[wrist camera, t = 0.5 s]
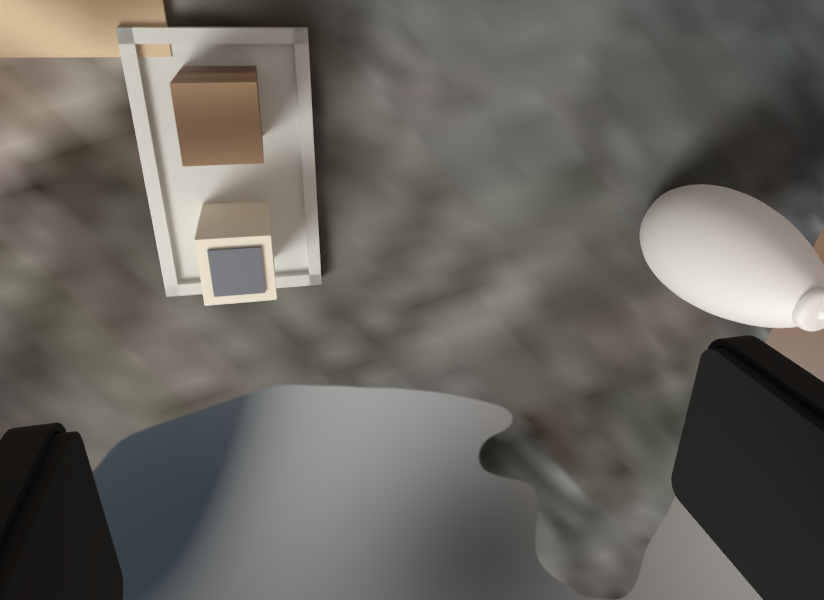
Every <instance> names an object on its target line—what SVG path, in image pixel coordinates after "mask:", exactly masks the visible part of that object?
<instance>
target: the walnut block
mask: <svg viewBox="0 0 824 600" xmlns="http://www.w3.org/2000/svg"><path fill="white" fill-rule="evenodd" d="M170 89H171V96H172V102H173V108H174V115H175V121H176V127H177V134H178V140H179V146H180V153H181V159H182V165H183V166H208V165H234V164H260V163H264V154H263V134H262V123H261V113H260V102H259V91H258V80H257V69H256V66H182V68H181V69H180V70H179V71H178V73H177V74H176V75H175V77H174V78H173V79H172V81H171V82H170Z"/></svg>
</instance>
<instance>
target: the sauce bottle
mask: <svg viewBox="0 0 824 600" xmlns="http://www.w3.org/2000/svg"><path fill="white" fill-rule="evenodd" d="M640 244H641V248H642V252H643V255H644V258H645V260H646V262H647V264H648V265H649V267H650V268H651V270H652V271H653V273H654V274H655V275H656V277H657V278H658V279H659V280H660V281H661V282H662V283H663V284H664V285H666V286H667V287H668V288H669V289H670V290H671V291H672V292H674V293H675V294H676V295H678V296H679V297H680V298H682V299H683V300H685V301H687V302H689V303H690V304H692V305H694V306H696V307H698V308H700V309H702V310H704V311H706V312H708V313H711V314H713V315H716V316H719V317H722V318H725V319H728V320H732V321H735V322H739V323H743V324H748V325H753V326H760V327H769V328H792V327H799V328H801V329H803V330H806V331H817V330H821V329H823V328H824V265H823V264H822V262H821V260H820V258H819V256H818V255H817V253H816V252H815V250H814V249H813V247H812V246H811V245H810V243H809V242H808V241H807V240H806V239H805V238H804V236H803V235H802V234H801V233H800V232H799V231H798V229H797V228H796V227H795V226H794V225H793V224H792V223H790V222H789V221H788V220H787V219H786V218H785V217H783V216H782V215H781V214H779V213H778V212H777V211H775V210H774V209H772V208H771V207H769V206H768V205H766V204H765V203H763V202H761V201H759V200H758V199H756V198H754V197H752V196H749V195H747V194H744V193H742V192H739V191H736V190H733V189H730V188H727V187H722V186H715V185H707V184H697V185H687V186H682V187H678V188H675V189H672V190H669V191H668V192H666V193H664V194H662V195H661V196H660V197H659V198H657V199H656V200H655V202H654V203H653V204H652V205H651V206H650V208H649V209H648V211H647V212H646V214H645V216H644V218H643V221H642V223H641V227H640Z"/></svg>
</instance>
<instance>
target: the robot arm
mask: <svg viewBox="0 0 824 600" xmlns="http://www.w3.org/2000/svg"><path fill="white" fill-rule="evenodd" d="M671 481H672V487H673V491H674V493H675V495H676V497H677V498H678V500H679V501H680V502H681V503H682V505H683V506H684V507H685V508H686V509H687V510H688V512H689V513H690V514H691V515H692V516H693V518H694V519H695V520H696V521H697V522H698V523H699V525H700V526H701V527H702V528H703V529H704V530H705V532H706V533H707V534H708V535H709V536H710V538H711V539H712V540H713V541H714V542H715V543H716V545H717V546H718V547H719V548H720V549H721V550H722V552H723V553H724V554H725V555H726V556H727V558H729V560H730V561H731V562H732V563H733V565H734V566H735V567H736V568H737V569H738V570H739V571H740V573H741V574H742V575H743V576H744V577H745V579H746V580H747V581H748V582H749V583H750V585H751V586H752V587H753V588H754V589H755V590H756V592H757V593H758V594H759V595H760V596H761V597H762V599H763V600H824V382H823V381H821V380H820V379H818V378H816V377H815V376H814V375H812V374H811V373H809V372H808V371H806V370H805V369H803V368H801V367H800V366H799V365H797V364H796V363H794V362H792V361H791V360H790V359H788V358H787V357H785V356H784V355H782V354H781V353H779V352H778V351H776V350H775V349H773V348H772V347H770V346H768V345H767V344H766V343H764V342H763V341H761V340H760V339H758V338H756V337H754V336H739V337H731V338H723V339H717V340H715V341H713V342H712V343H711V344H710V345H709V347H708V350H706V351H704V353H703V354H702V356H701V358H700V362H699V366H698V370H697V374H696V378H695V382H694V386H693V390H692V395H691V399H690V403H689V407H688V411H687V415H686V419H685V423H684V427H683V431H682V436H681V440H680V444H679V448H678V452H677V456H676V460H675V464H674V468H673V472H672V478H671ZM122 598H123V577H122V572H121V568H120V565H119V562H118V559H117V555H116V551H115V548H114V545H113V542H112V538H111V535H110V531H109V528H108V524H107V521H106V518H105V514H104V511H103V508H102V504H101V501H100V498H99V494H98V491H97V487H96V484H95V480H94V477H93V474H92V470H91V467H90V464H89V460H88V457H87V453H86V450H85V447H84V443H83V440H82V438H81V435H80V434H79V433H78V432H76V431H75V432H66V430H65V428H64V427H63V425H62V424H60V423H50V424H42V425H34V426H26V427H18V428H12V429H9V430H8V431H7V432H6V433H5V434H4V435H3V437H2V439H1V441H0V600H122Z"/></svg>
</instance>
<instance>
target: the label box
mask: <svg viewBox="0 0 824 600" xmlns="http://www.w3.org/2000/svg"><path fill="white" fill-rule="evenodd" d="M194 242H195V248H196V254H197V261H198V267H199V273H200V280H201V286H202V292H203V299H204V305H205V306H207V305H219V304H231V303H243V302H255V301H267V300H277V296H276V281H275V266H274V253H273V242H272V231H271V221H270V210H269V200H260V201H241V202H221V203H203V204H202V208H201V213H200V217H199V221H198V226H197V230H196V235H195V239H194Z"/></svg>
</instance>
